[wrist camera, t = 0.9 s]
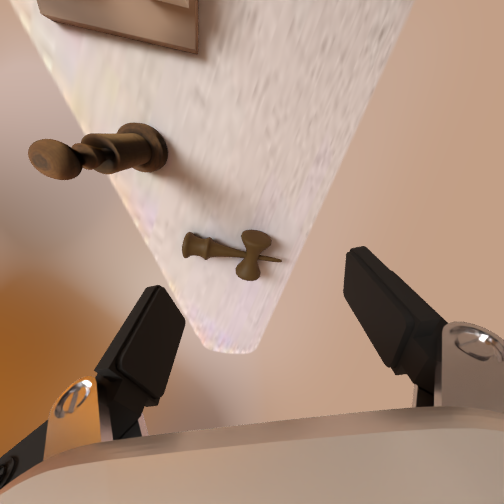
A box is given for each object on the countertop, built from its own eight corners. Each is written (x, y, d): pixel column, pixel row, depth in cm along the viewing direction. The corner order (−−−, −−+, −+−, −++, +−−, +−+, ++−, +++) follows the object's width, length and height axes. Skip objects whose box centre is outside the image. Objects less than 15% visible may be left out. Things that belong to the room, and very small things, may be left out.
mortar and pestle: (129, 167, 31) (17, 200, 16) (118, 120, 27) (-39, 102, 12) (170, 172, 31) (101, 207, 16) (165, 126, 28) (70, 115, 13)
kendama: (189, 215, 36) (286, 234, 38) (188, 255, 41) (274, 269, 44) (178, 229, 31) (291, 249, 33) (179, 272, 36) (276, 287, 39)
